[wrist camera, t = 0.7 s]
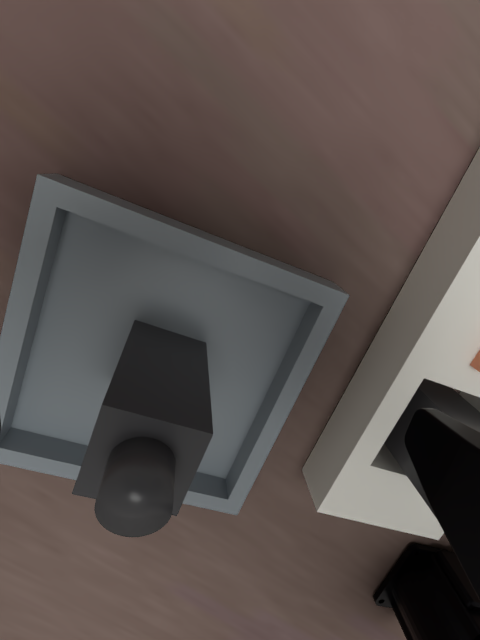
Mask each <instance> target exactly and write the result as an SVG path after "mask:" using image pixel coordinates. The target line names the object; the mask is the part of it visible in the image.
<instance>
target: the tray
mask: <svg viewBox="0 0 480 640" xmlns="http://www.w3.org/2000/svg"><path fill="white" fill-rule="evenodd" d="M349 296H350V295H349V294H347V293H346V292H345V291H344V290H343V289H341V288H340V287H339V286H338V285H336V284H335V283H334V282H332V281H330V280H327V279H324V278H322V277H319V276H317V275H314V274H312V273H309V272H307V271H304V270H302V269H299V268H296V267H294V266H291V265H289V264H286V263H284V262H281V261H279V260H276V259H273V258H271V257H268V256H266V255H263V254H261V253H258V252H256V251H253V250H251V249H248V248H245V247H243V246H240V245H238V244H235V243H233V242H230V241H228V240H225V239H223V238H220V237H217V236H215V235H212V234H210V233H207V232H205V231H202V230H200V229H197V228H195V227H192V226H189V225H187V224H184V223H182V222H179V221H177V220H174V219H172V218H169V217H166V216H164V215H161V214H159V213H156V212H154V211H151V210H149V209H146V208H144V207H141V206H138V205H136V204H133V203H131V202H128V201H126V200H123V199H121V198H118V197H116V196H113V195H110V194H108V193H105V192H103V191H100V190H98V189H95V188H93V187H90V186H88V185H85V184H82V183H80V182H77V181H75V180H72V179H70V178H67V177H65V176H62V175H59V174H37V178H36V182H35V187H34V191H33V195H32V200H31V204H30V209H29V213H28V217H27V222H26V226H25V231H24V235H23V239H22V244H21V248H20V253H19V257H18V261H17V266H16V270H15V274H14V279H13V283H12V288H11V292H10V296H9V301H8V305H7V310H6V314H5V318H4V323H3V327H2V332H1V336H0V418H1V433H0V464H4V465H9V466H14V467H18V468H23V469H27V470H32V471H37V472H41V473H46V474H50V475H55V476H59V477H64V478H69V479H73V480H77V477H78V474H79V471H80V468H81V465H82V462H83V459H84V456H85V453H86V450H87V447H88V444H89V441H90V438H91V435H92V432H93V429H94V426H95V423H96V420H97V417H98V414H99V411H100V408H101V405H102V403H103V400H104V398H105V395H106V392H107V390H108V387H109V385H110V382H111V380H112V377H113V374H114V372H115V369H116V367H117V364H118V361H119V359H120V356H121V354H122V351H123V349H124V346H125V343H126V341H127V338H128V336H129V333H130V331H131V328H132V325H133V323H134V320H137V321H141V322H144V323H147V324H150V325H153V326H156V327H159V328H162V329H165V330H168V331H171V332H175V333H178V334H181V335H184V336H187V337H190V338H193V339H196V340H199V341H202V342H206V344H207V357H208V371H209V384H210V397H211V410H212V423H213V436H212V439H211V441H210V443H209V445H208V447H207V450H206V452H205V454H204V456H203V459H202V461H201V463H200V465H199V467H198V470H197V472H196V474H195V476H194V479H193V481H192V483H191V485H190V487H189V490H188V492H187V494H186V496H185V499H184V501H183V504H188V505H192V506H197V507H201V508H206V509H210V510H215V511H220V512H224V513H229V514H233V515H238V513H239V511H240V509H241V507H242V505H243V503H244V501H245V499H246V497H247V495H248V493H249V491H250V489H251V487H252V485H253V483H254V481H255V479H256V477H257V476H258V474H259V472H260V470H261V468H262V466H263V464H264V462H265V460H266V458H267V456H268V454H269V452H270V450H271V448H272V446H273V444H274V442H275V440H276V438H277V436H278V434H279V432H280V431H281V429H282V427H283V425H284V423H285V421H286V419H287V417H288V415H289V413H290V411H291V409H292V407H293V405H294V403H295V401H296V399H297V397H298V395H299V393H300V391H301V389H302V388H303V386H304V384H305V382H306V380H307V378H308V376H309V374H310V372H311V370H312V368H313V366H314V364H315V362H316V360H317V358H318V356H319V354H320V352H321V350H322V348H323V346H324V344H325V343H326V341H327V339H328V337H329V335H330V333H331V331H332V329H333V327H334V325H335V323H336V321H337V319H338V317H339V315H340V313H341V311H342V309H343V307H344V305H345V303H346V301H347V299H348V298H349Z"/></svg>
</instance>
